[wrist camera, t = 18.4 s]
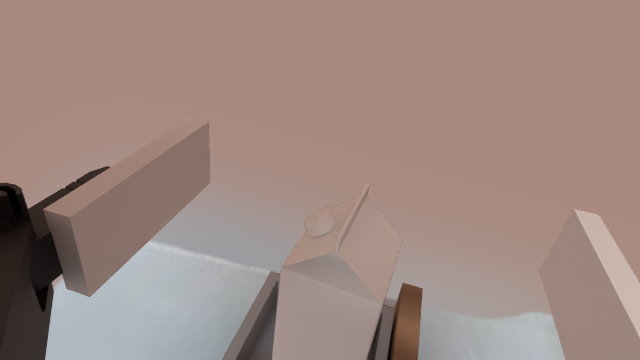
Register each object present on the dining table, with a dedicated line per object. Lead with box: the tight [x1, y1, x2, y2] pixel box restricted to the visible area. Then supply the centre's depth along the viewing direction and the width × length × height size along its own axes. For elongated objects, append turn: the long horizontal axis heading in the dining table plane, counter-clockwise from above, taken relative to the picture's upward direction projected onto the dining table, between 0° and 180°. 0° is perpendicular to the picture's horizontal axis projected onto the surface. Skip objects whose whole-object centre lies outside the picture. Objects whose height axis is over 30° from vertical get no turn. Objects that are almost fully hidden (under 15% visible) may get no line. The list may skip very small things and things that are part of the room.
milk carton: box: [272, 183, 402, 360], centre depth 31 cm, size 7×7×19 cm
